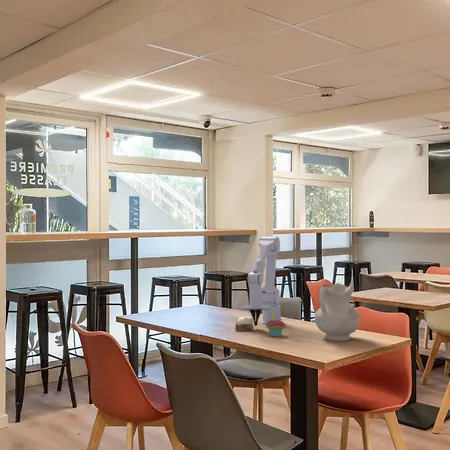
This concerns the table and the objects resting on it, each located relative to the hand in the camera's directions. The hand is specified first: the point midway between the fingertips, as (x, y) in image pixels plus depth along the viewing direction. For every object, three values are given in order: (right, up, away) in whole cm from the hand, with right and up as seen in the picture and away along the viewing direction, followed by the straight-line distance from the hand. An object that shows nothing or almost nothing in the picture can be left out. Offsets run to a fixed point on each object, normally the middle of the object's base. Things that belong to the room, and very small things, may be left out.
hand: (255, 325), depth 272 cm
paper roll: (-5, -2, 0) cm, 5 cm away
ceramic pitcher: (+34, -2, -25) cm, 42 cm away
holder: (-6, -2, 0) cm, 6 cm away
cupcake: (+8, -2, -16) cm, 18 cm away
